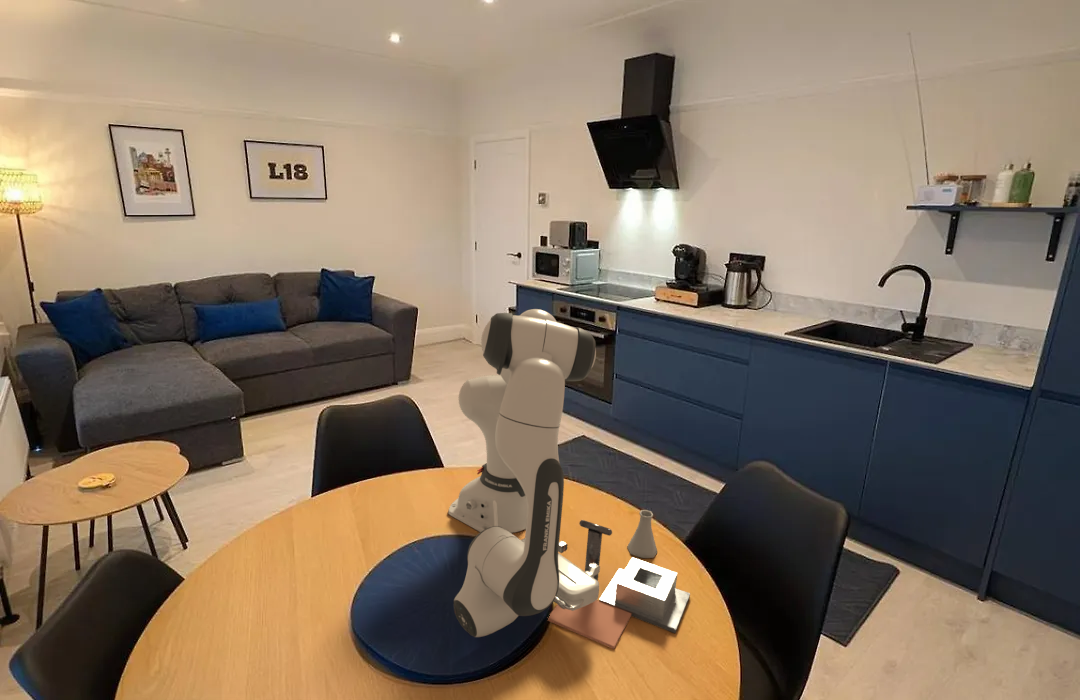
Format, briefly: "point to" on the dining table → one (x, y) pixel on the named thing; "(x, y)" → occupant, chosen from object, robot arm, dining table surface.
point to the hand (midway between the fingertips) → (580, 555)
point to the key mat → (593, 621)
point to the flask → (643, 537)
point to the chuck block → (647, 594)
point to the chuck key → (594, 543)
